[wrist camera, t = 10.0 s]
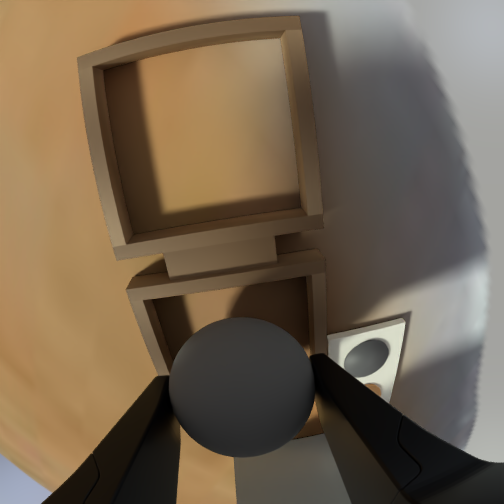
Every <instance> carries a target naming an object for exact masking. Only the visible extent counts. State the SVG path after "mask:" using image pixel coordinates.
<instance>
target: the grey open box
mask: <svg viewBox="0 0 504 504" xmlns="http://www.w3.org/2000/svg"><path fill="white" fill-rule="evenodd" d="M234 469H235V483H236V497H237V504H351V501H350V499H349V496H348V493H347V491H346V488H345V486H344V483H343V481H342V478H341V475H340V473H339V470H338V468H337V465H336V462H335V460H334V457H333V455H332V452H331V450H330V447H329V444H328V442H327V439H326V437H325V434H319V435H315V436H310V437H305V438H300V439H295V440H290V441H289V442H288V443H286V444H285V445H284V446H282V447H280V448H279V449H277V450H275V451H272V452H270V453H267V454H264V455H260V456H255V457H245V458H240V457H234Z"/></svg>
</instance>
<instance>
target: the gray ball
mask: <svg viewBox="0 0 504 504" xmlns="http://www.w3.org/2000/svg"><path fill="white" fill-rule="evenodd" d="M315 391H316V386H315V376H314V372H313V368H312V365H311V362H310V360H309V358H308V356H307V354H306V352H305V351H304V349H303V348H302V346H301V345H300V344H299V343H298V341H297V340H296V339H294V338H293V337H292V336H291V335H290V334H289V333H288V332H286V331H285V330H283V329H282V328H280V327H278V326H276V325H274V324H272V323H270V322H267V321H264V320H261V319H256V318H249V317H235V318H228V319H223V320H219V321H216V322H213V323H211V324H209V325H207V326H205V327H203V328H202V329H200V330H199V331H197V332H196V333H195V334H194V335H192V336H191V337H190V338H189V339H188V340H187V341H186V342H185V344H184V345H183V346H182V347H181V349H180V350H179V352H178V354H177V356H176V358H175V360H174V362H173V365H172V369H171V372H170V376H169V396H170V402H171V406H172V409H173V411H174V414H175V416H176V418H177V420H178V422H179V423H180V425H181V427H182V428H183V429H184V430H185V431H186V433H187V434H188V435H189V436H190V437H191V438H192V439H194V440H195V441H196V442H197V443H199V444H200V445H202V446H203V447H205V448H207V449H209V450H211V451H213V452H215V453H218V454H221V455H226V456H231V457H240V458H245V457H255V456H260V455H264V454H267V453H270V452H272V451H275V450H277V449H279V448H280V447H282V446H284V445H285V444H286V443H288V442H289V441H290V440H292V439H293V438H294V437H295V436H296V435H297V434H298V433H299V431H300V430H301V429H302V428H303V426H304V425H305V423H306V421H307V420H308V418H309V416H310V413H311V411H312V408H313V404H314V400H315Z"/></svg>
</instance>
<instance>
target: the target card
mask: <svg viewBox="0 0 504 504" xmlns="http://www.w3.org/2000/svg"><path fill="white" fill-rule="evenodd" d="M405 323H406V322H405V321H404V320H403V318H399V319H395V320H391V321H387V322H383V323H379V324H375V325H371V326H367V327H363V328H358V329H354V330H349V331H345V332H340V333H335V334H331V335H327V356H328V357H330V358H331V359H332V360H333V361H335V362H336V363H337V364H338V365H340V366H341V367H342V368H344V369H345V370H346V371H347V372H349V373H350V374H351V375H353V376H354V377H355V378H356V379H358V380H359V381H360V382H362V383H363V384H364V385H365V386H367V387H368V388H369V389H371V390H372V391H373V392H375V393H376V394H377V395H379V396H380V397H381V398H382V399H384V400H385V401H386V402H388V403H389V402H390V398H391V394H392V390H393V385H394V381H395V376H396V372H397V367H398V362H399V357H400V352H401V347H402V341H403V335H404V329H405Z"/></svg>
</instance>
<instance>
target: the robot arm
mask: <svg viewBox="0 0 504 504" xmlns="http://www.w3.org/2000/svg"><path fill="white" fill-rule="evenodd" d="M309 360H310V362H311V365H312V368H313V372H314V376H315V386H316V391H315V402H316V406H317V411H318V415H319V419H320V423H321V426H322V429H323V432H324V434H325V437H326V439H327V442H328V444H329V447H330V450H331V452H332V455H333V457H334V460H335V462H336V465H337V468H338V470H339V473H340V475H341V478H342V481H343V483H344V486H345V488H346V491H347V493H348V496H349V499H350V501H351V504H504V463H495V462H488V461H484V460H481V459H478V458H476V457H474V456H472V455H470V454H468V453H466V452H464V451H462V450H460V449H458V448H457V447H455V446H453V445H451V444H449V443H447V442H445V441H443V440H442V439H440V438H438V437H437V436H435V435H433V434H431V433H430V432H428V431H426V430H425V429H423V428H422V427H421V426H419V425H418V424H416V423H415V422H413V421H412V420H411V419H409V418H408V417H407V416H405V415H403V416H402V413H401V412H400V411H398V410H397V409H396V408H394V407H393V406H392V405H390V404H389V403H388V402H386V401H385V400H384V399H382V398H381V397H380V396H379V395H377V394H376V393H375V392H373V391H372V390H371V389H369V388H368V387H367V386H365V385H364V384H363V383H362V382H360V381H359V380H358V379H356V378H355V377H354V376H353V375H351V374H350V373H349V372H347V371H346V370H345V369H344V368H342V367H341V366H340V365H338V364H337V363H336V362H335V361H333V360H332V359H331V358H330V357H328V356H327V355H326V354H324V353H318V354H313V355H311V356H310V357H309ZM180 445H181V438H180V423H179V422H178V420H177V418H176V416H175V414H174V411H173V409H172V406H171V402H170V396H169V375H161V376H156V377H155V378H154V379H153V381H152V382H151V383H150V384H149V385H148V387H147V388H146V389H145V390H144V391H143V392H142V394H141V395H140V396H139V397H138V398H137V400H136V401H135V402H134V403H133V404H132V406H131V407H130V408H129V409H128V410H127V412H126V413H125V414H124V415H123V416H122V417H121V419H120V420H119V421H118V422H117V423H116V425H115V426H114V427H113V428H112V429H111V431H110V432H109V433H108V434H107V435H106V436H105V438H104V439H103V440H102V441H101V442H100V444H99V445H98V446H97V447H96V448H95V449H94V451H93V454H90V455H89V456H88V458H87V459H86V460H85V461H84V462H83V463H82V464H81V466H80V467H79V468H78V469H77V470H76V471H75V472H74V473H73V474H72V475H71V476H70V477H69V478H68V479H67V480H66V481H65V482H64V483H63V484H62V485H61V486H60V487H59V488H58V489H57V490H55V491H54V492H53V493H52V494H51V495H50V496H49V497H48V498H47V499H46V500H45V501H43V502H42V503H41V504H176V499H177V484H178V471H179V459H180Z"/></svg>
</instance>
